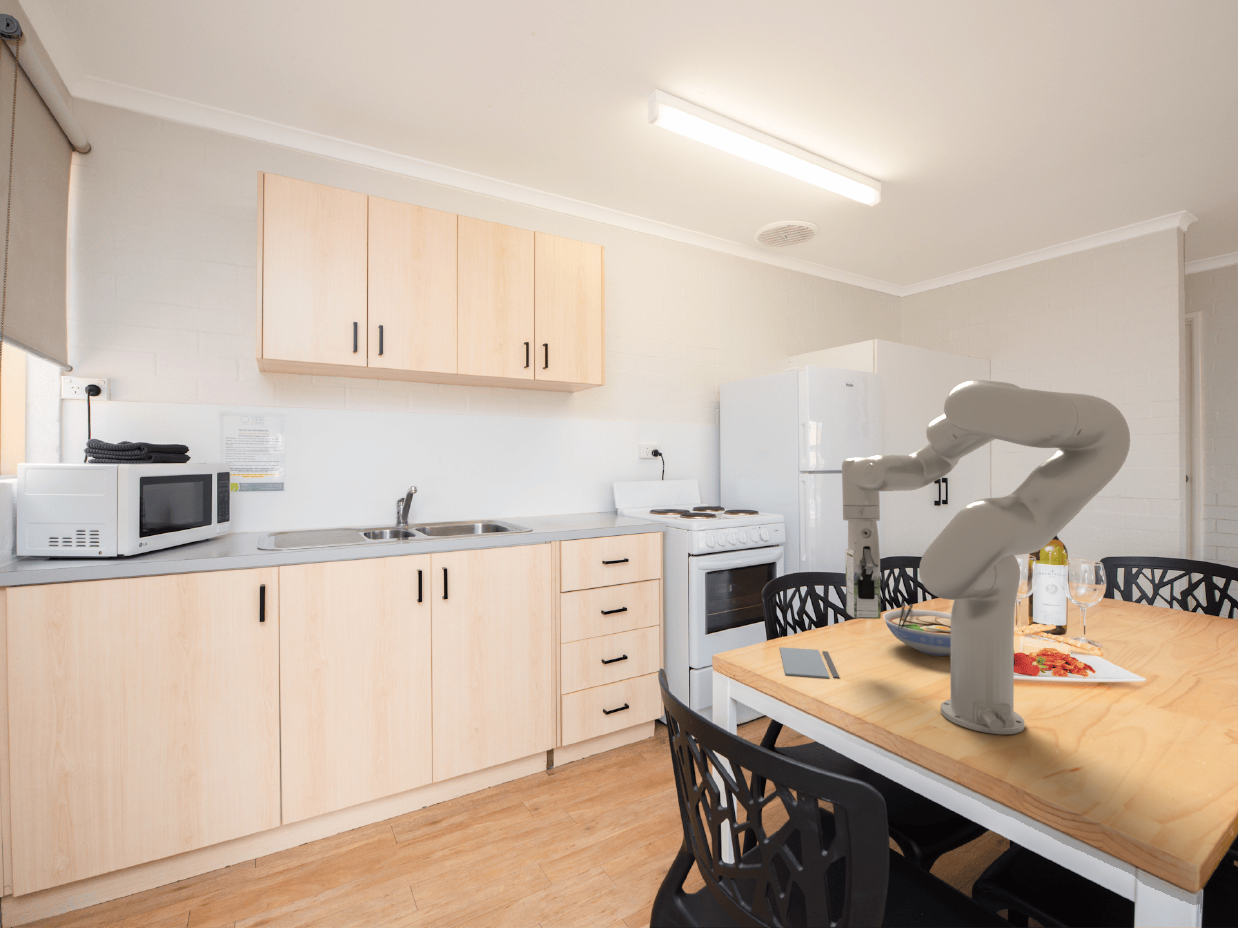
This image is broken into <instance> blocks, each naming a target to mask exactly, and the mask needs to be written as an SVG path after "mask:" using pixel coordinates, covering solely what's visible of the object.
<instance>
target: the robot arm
mask: <svg viewBox="0 0 1238 928" xmlns="http://www.w3.org/2000/svg"><path fill="white" fill-rule="evenodd" d="M943 411H944V413H943V414H941V415H939V416H938V417H936V418H935V419H933V420H932V421H930V422H929V424H927V427H926V431H925V433H926V438H927V441H928V444H927V445H925V446H923V447H922V448H920V449H918V450H917V451H915V452H913V453H911V454H909V455H905V454H904V455H903V454H899V455H898V454H896V455H895V454H891V455H889V454H888V455H885V454H882V455H880V454H879V455H872V456H868V457H850V458H845V459H844V460H843V461H842V464H841V479H842V480H841V481H842V482H841V483H842V486H841V487H842V520H843V521H847V522H848V523H847V547H848V548H847V549H850V550H851V551H853V552H854V559H855V565H856V566H858V568H859V580H858V598H859V599H874V598H875V593H874V574H873V564H875V565H877V566H876V567H879V566H880V567H881V553H880V542H879V532H878V530H879V529H878V524H877V522H878V521H880V520H881V514H880V513H881V512H880V511H881V509H880V508H881V507H880V492H901V491H904V492H905V491H909V492H910V491H915V490H919V489H921V488H924V487H926V486H928V485H930V484H932V483H934V482H935V481H938V480H939V479H942V478H943V477H945V476H947V475H948V474H949V473H950V472H952V471H953V469H954V468H955V467H956V466H957V464H958V463H959V461H960V460H961V459H962V458H963V457H965V456H967V455H968V454H971V453H972V452H974V451H976V450H978V449H979V448H981V447H984V446H985V445H987V444H988V443H991V442H992V441H995V440H1000V441H1003V442H1008V443H1012V444H1015V445H1020V446H1024V447H1031V448H1038V449H1057V450H1056V452H1055V453H1054V454H1052V455H1051V456H1050V457H1049V458H1048V459H1046V460H1045V461H1044V462H1042V463H1041V464H1039V465H1038V466H1037V467H1036V468H1035V469H1034V470H1032V471H1031V472H1030V474H1029V475H1028V476H1027V478H1026V479H1024V480H1023V482H1022V483H1021V484H1020V485H1019V486H1018V487H1017V488H1016V489H1015V490H1014V491H1013V492H1011V493H1010V494H1008V495H1006V496H1001V497H986V498H981V499H977V500H974V501H973V502H970V503H968V504H967V505H966V506H964V507H963V508H962V509H961V510H959V512H957V513H956V514H955V515H954V517H953V518H952V519H951V520H950V521H949V523H948V524H947V525H945V527H944V528H943V530H941V532H940V533H939V534H938V536H936V538H935V539H934V540H933V541H932V543H931V544H930V545H928V548H926V550H925V552H923V555H922V556H921V558H920V559H921V560H920V562H919V568H918V569H919V573H918V574H919V578H920V581H921V583H922V585H923V587H924V588H925V589H926V590H927V591H928V592H929V593H930V594H932V595H933V596H935V597H937V598H940V599H943V600H949V601H953V603H952V606H951V607H952V608H951V655H950V699H946V700H944V701H942V703H940V712H941V713H940V714H942V716H944V718H946V720H948V721H950V722H952V723H953V724H956V725H958V726H961V727H962V728H963V727H964V728H966V729H968V730H972V731H976V732H980V733H985V734H991V735H1015V734H1018V733H1021V732H1022V731H1024V729H1025V720H1024V718H1023V717H1022V716H1021V715H1020V714H1019V713H1018V712H1016V711H1014V704H1015V703H1014V691H1015V690H1014V689H1015V688H1014V685H1015V684H1014V683H1015V682H1014V680H1015V679H1014V675H1015V674H1014V669H1015V668H1014V667H1015V666H1014V661H1015V660H1014V659H1015V658H1014V657H1015V656H1014V655H1015V653H1014V651H1015V650H1014V649H1015V647H1014V643H1015V639H1014V637H1015V611H1016V601H1017V597H1018V593H1019V587H1020V581H1021V569H1020V564H1019V562H1018V559H1017V557H1016V556H1020V555H1021V556H1022V555H1029V554H1034V553H1036V552H1039V551H1040V550H1042V549H1043V548H1045V547H1046V546H1047V545H1048V544H1049V543H1050V542H1051V541H1052V540H1053V539H1054V538H1055V537H1056V536H1057V535H1058V534H1059V533H1060V532H1061V531H1062V530H1063V529H1064V528H1065V527H1066V526H1067V525H1068V524H1070V522H1071V521H1072V520H1073V519H1074V518H1075V517H1077V515H1078V514H1079V513H1080V512H1081V511H1082V510H1083V508H1084V507H1085V506H1087V505H1088V504H1089V503H1090V501H1091V500H1093V499H1094V497H1096V496H1097V495H1098V494H1099V493H1100V492H1101V491H1102V490H1103V489H1104V488H1105V487H1106V486H1107V485H1108V484H1109V483H1110V482H1111V481H1112V480H1113V479H1114V477H1116V475H1117V474H1118V473H1119V472H1120V470H1121V469H1122V467H1123V465H1124V463H1125V462H1126V459H1127V457H1128V454H1129V451H1130V446H1131V445H1130V444H1131V433H1130V429H1129V425H1128V423H1127V420H1126V418H1125V416H1124V415H1123V413H1122V412H1121V411H1120V410H1119V408H1117V407H1116V405H1114V404H1113V403H1112V402H1110V401H1108V400H1106V399H1104V398H1101V397H1099V396H1094V395H1090V394H1084V393H1083V394H1082V393H1070V392H1069V393H1068V392H1059V391H1048V390H1039V389H1038V390H1037V389H1030V388H1023V387H1020V386H1018V385H1015V384H1013V383H1009V382H1005V381H996V380H995V381H994V380H993V381H992V380H983V379H982V380H981V379H973V380H972V379H971V380H968V381H965V382H963V383H960V384H958V385H957V386H955V387H954V388H953V389H952V390H951V391H950V393H948V395H947V397H946V399H945V401H944V406H943ZM872 559H873V562H874V563H872ZM860 560H861V562H863V563H865V565H861V562H860ZM862 569H863V573H862Z"/></svg>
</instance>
